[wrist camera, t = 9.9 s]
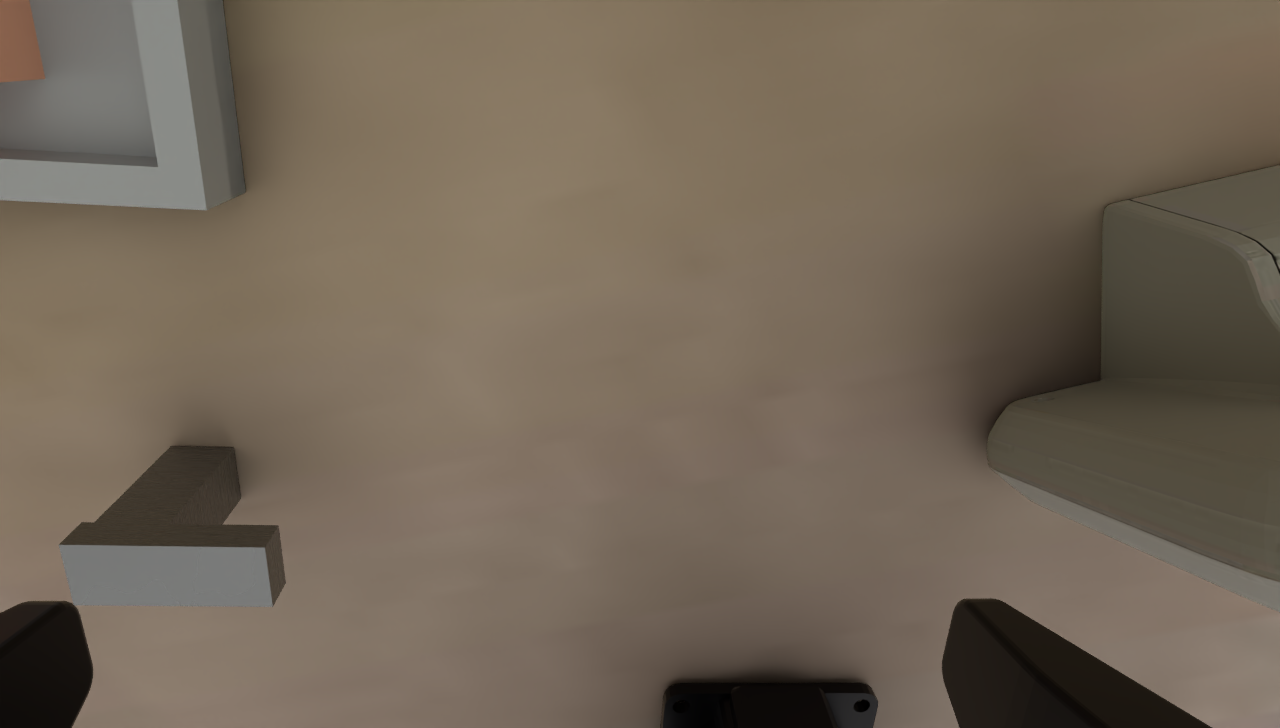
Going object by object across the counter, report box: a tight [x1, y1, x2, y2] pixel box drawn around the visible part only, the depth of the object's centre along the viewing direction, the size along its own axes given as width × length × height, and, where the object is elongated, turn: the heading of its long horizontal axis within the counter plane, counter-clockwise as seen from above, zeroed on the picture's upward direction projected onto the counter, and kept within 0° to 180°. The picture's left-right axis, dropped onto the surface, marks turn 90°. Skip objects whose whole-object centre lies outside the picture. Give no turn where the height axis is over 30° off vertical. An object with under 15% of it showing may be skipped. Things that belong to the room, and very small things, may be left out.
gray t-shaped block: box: [59, 446, 286, 607], centre depth 18 cm, size 2×4×4 cm, turn 87°
